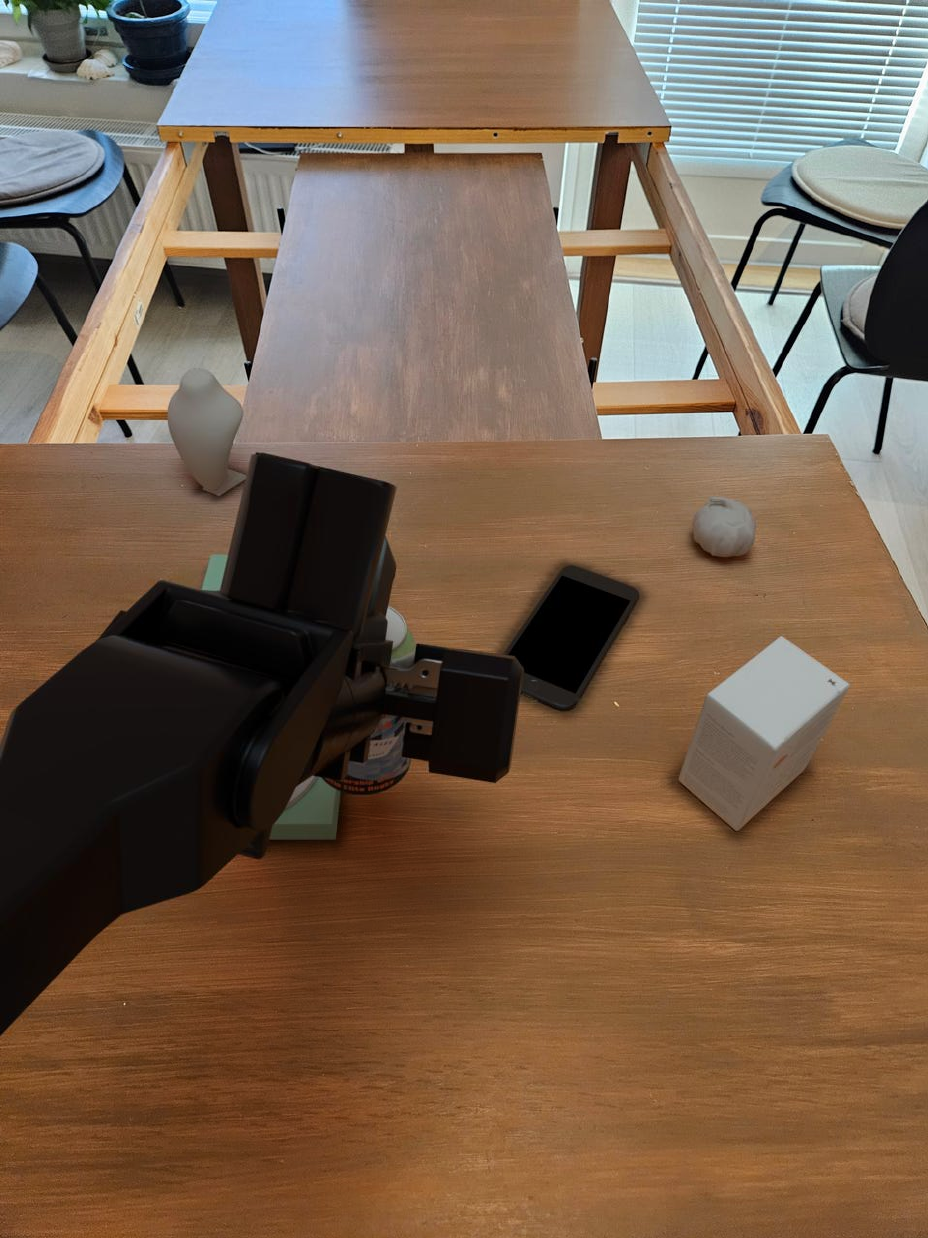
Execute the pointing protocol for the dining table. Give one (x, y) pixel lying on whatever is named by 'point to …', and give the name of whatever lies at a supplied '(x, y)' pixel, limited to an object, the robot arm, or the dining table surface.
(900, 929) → the dining table surface
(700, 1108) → the dining table surface
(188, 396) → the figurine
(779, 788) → the small box
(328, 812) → the scale
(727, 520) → the garlic
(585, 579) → the smartphone
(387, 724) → the beverage can
